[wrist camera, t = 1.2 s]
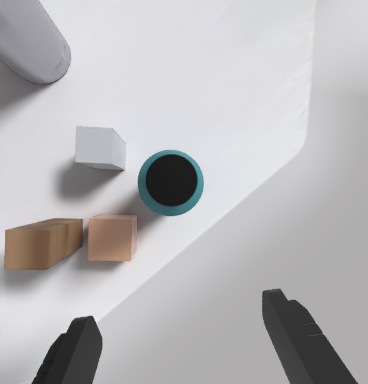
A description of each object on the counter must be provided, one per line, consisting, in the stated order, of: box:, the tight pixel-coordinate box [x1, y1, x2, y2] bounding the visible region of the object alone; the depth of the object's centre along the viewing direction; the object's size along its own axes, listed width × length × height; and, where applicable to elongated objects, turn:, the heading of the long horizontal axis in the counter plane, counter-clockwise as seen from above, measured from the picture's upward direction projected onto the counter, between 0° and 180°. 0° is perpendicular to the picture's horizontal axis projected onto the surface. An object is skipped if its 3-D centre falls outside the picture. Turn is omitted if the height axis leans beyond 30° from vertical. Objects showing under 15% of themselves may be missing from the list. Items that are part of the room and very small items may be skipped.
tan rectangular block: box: [4, 218, 83, 270], centre depth 28 cm, size 4×4×10 cm
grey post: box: [75, 126, 126, 170], centre depth 30 cm, size 4×4×8 cm
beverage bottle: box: [138, 150, 204, 216], centre depth 25 cm, size 6×7×20 cm
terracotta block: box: [88, 214, 137, 261], centre depth 32 cm, size 6×6×5 cm
